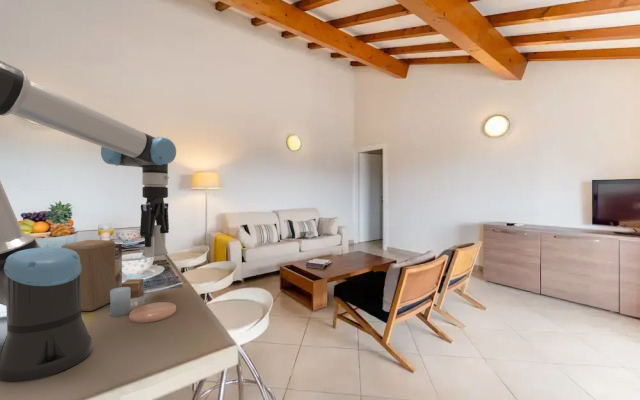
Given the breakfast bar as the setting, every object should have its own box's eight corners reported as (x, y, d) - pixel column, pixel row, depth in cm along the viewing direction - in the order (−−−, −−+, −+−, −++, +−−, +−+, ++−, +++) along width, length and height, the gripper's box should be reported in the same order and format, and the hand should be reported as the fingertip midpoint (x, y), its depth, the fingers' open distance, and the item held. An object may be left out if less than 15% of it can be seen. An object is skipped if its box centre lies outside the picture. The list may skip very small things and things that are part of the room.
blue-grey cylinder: (124, 316, 87) (123, 292, 86) (106, 316, 87) (106, 292, 86) (134, 309, 92) (134, 286, 91) (117, 309, 92) (117, 286, 91)
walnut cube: (138, 297, 102) (138, 283, 102) (121, 298, 101) (121, 283, 101) (143, 292, 107) (143, 278, 107) (128, 293, 106) (127, 279, 106)
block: (117, 300, 99) (116, 239, 98) (91, 312, 89) (90, 245, 88) (89, 299, 100) (88, 239, 99) (60, 311, 90) (59, 244, 89)
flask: (137, 256, 99) (137, 226, 99) (155, 252, 106) (155, 224, 106) (154, 258, 97) (154, 227, 97) (172, 253, 104) (172, 225, 104)
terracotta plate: (164, 322, 83) (164, 318, 83) (119, 323, 82) (119, 318, 82) (182, 305, 95) (182, 302, 95) (143, 306, 94) (143, 302, 94)
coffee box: (107, 293, 105) (106, 248, 104) (88, 294, 105) (87, 248, 104) (122, 285, 114) (122, 243, 114) (105, 285, 114) (104, 243, 113)
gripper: (151, 185, 91) (151, 260, 92) (179, 186, 111) (179, 248, 112) (126, 185, 91) (126, 260, 91) (158, 186, 111) (158, 248, 111)
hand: (155, 254), depth 101 cm, fingers closed on flask, 7 cm apart
